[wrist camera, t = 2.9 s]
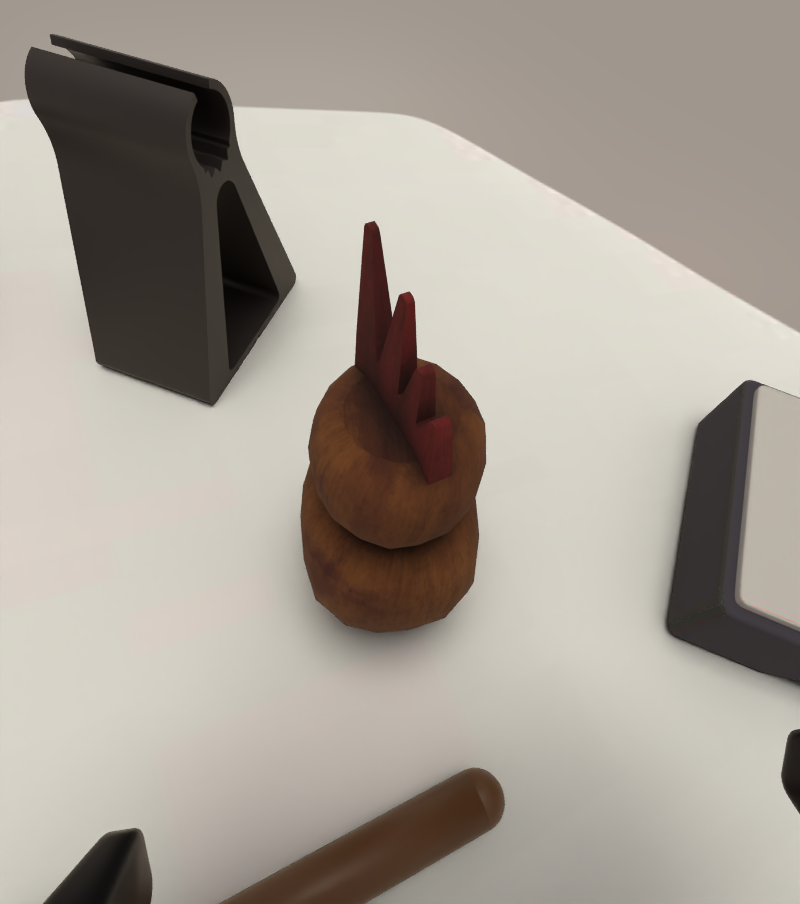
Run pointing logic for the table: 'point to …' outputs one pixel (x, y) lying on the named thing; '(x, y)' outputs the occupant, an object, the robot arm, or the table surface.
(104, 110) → the phone stand
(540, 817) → the table surface
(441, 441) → the wooden figurine
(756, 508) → the calculator
